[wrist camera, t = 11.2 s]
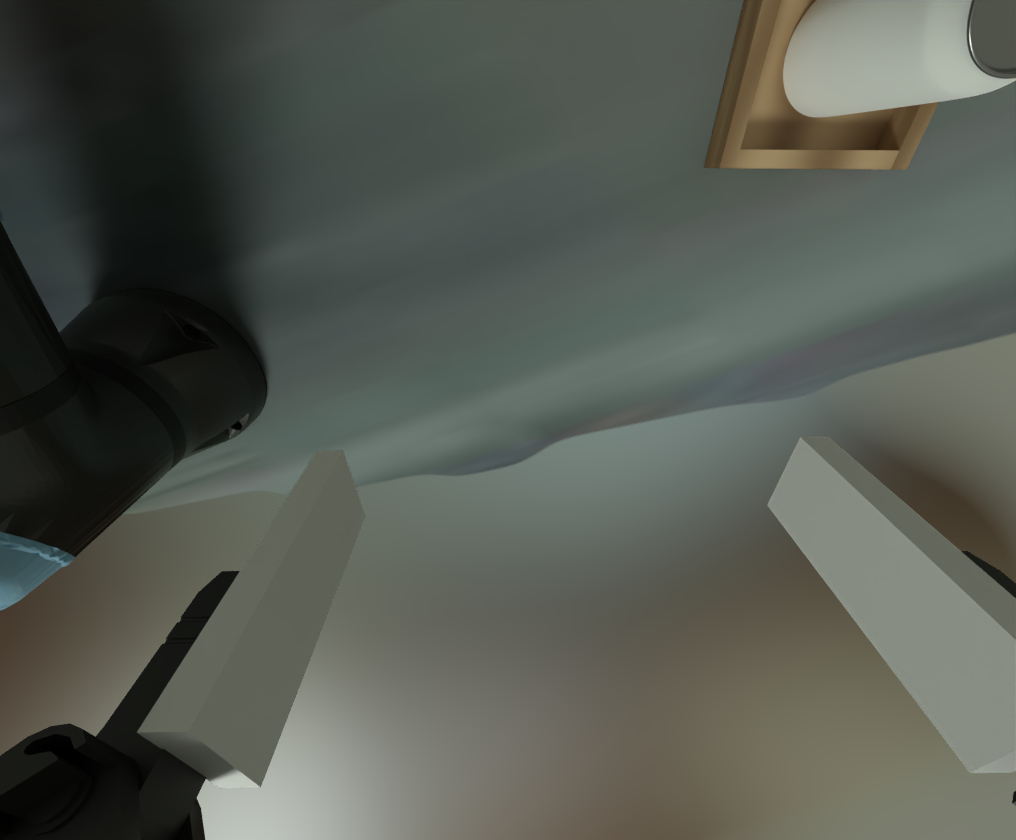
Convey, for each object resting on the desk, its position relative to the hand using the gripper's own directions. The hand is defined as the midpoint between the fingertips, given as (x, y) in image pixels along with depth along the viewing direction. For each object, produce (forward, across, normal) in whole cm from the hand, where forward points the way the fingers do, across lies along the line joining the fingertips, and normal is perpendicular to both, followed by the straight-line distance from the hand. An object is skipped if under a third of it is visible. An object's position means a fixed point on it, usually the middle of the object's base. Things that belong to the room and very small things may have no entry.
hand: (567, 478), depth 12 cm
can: (+23, +19, +13) cm, 33 cm away
